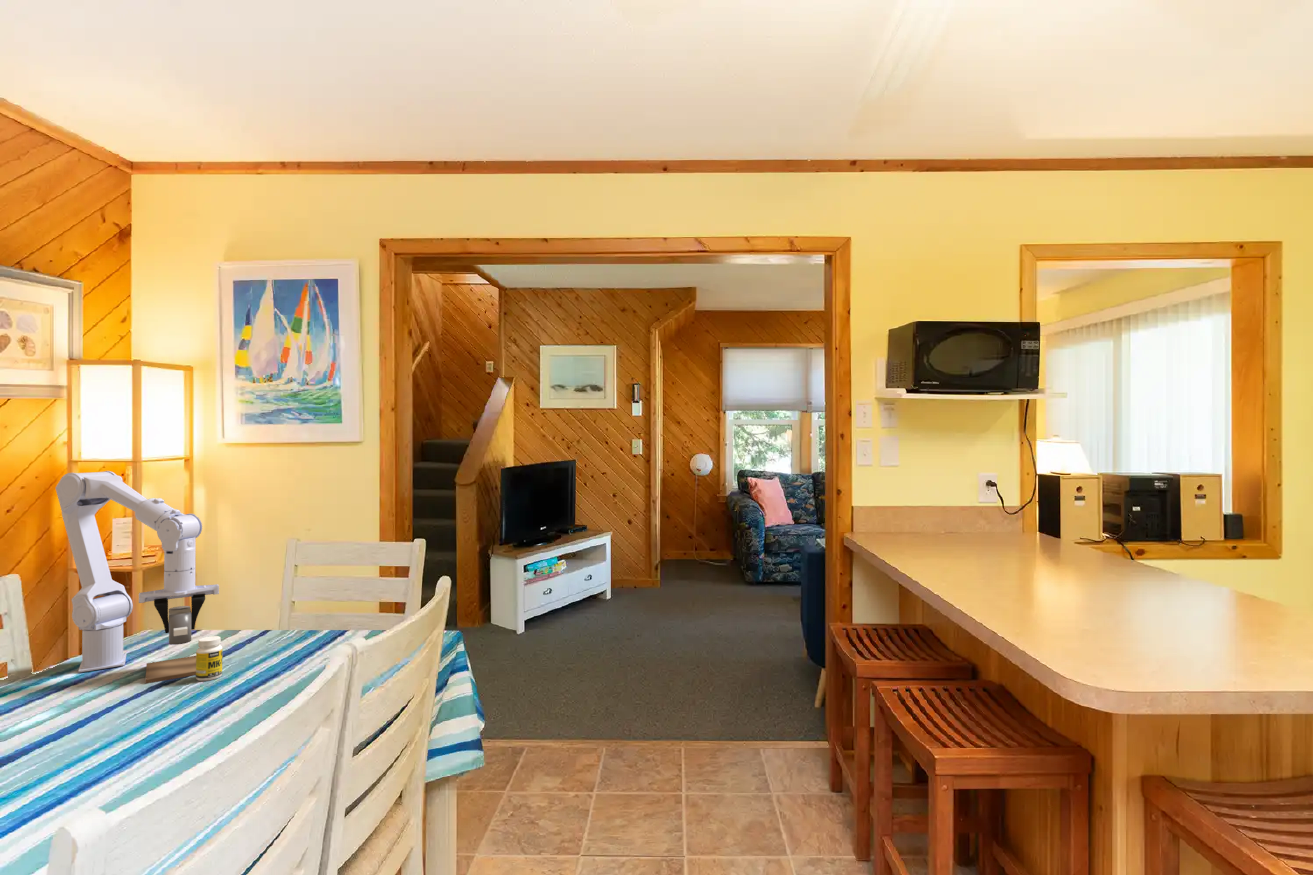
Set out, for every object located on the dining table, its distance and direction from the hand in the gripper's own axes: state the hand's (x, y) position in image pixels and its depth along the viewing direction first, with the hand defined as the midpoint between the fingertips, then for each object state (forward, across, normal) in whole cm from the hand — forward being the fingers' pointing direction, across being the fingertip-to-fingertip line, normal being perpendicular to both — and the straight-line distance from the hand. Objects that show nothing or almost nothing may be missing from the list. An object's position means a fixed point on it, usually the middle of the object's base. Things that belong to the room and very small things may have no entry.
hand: (179, 630), depth 150 cm
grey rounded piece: (+2, 0, -1) cm, 2 cm away
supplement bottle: (+9, +5, -10) cm, 14 cm away
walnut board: (+9, 0, 0) cm, 9 cm away
